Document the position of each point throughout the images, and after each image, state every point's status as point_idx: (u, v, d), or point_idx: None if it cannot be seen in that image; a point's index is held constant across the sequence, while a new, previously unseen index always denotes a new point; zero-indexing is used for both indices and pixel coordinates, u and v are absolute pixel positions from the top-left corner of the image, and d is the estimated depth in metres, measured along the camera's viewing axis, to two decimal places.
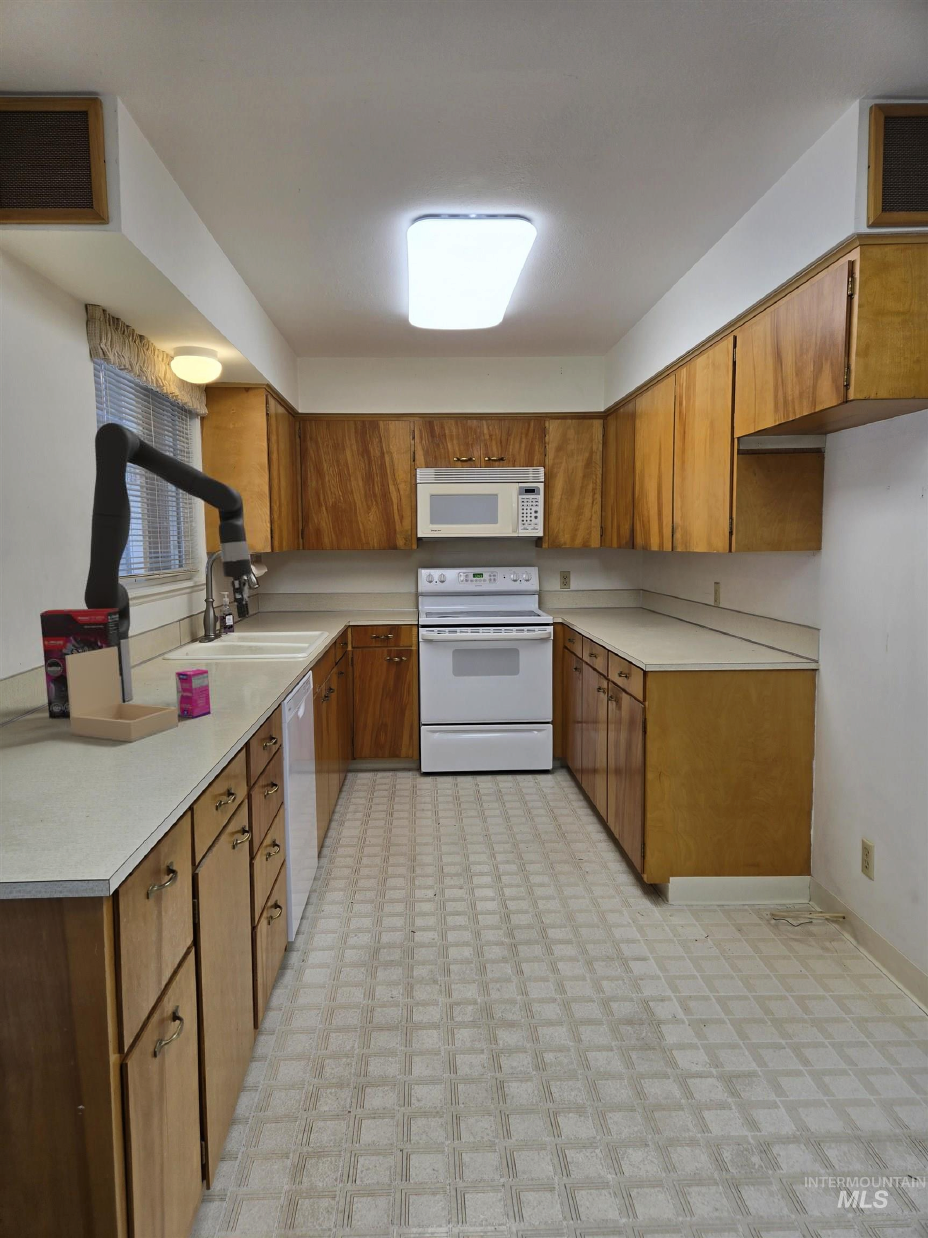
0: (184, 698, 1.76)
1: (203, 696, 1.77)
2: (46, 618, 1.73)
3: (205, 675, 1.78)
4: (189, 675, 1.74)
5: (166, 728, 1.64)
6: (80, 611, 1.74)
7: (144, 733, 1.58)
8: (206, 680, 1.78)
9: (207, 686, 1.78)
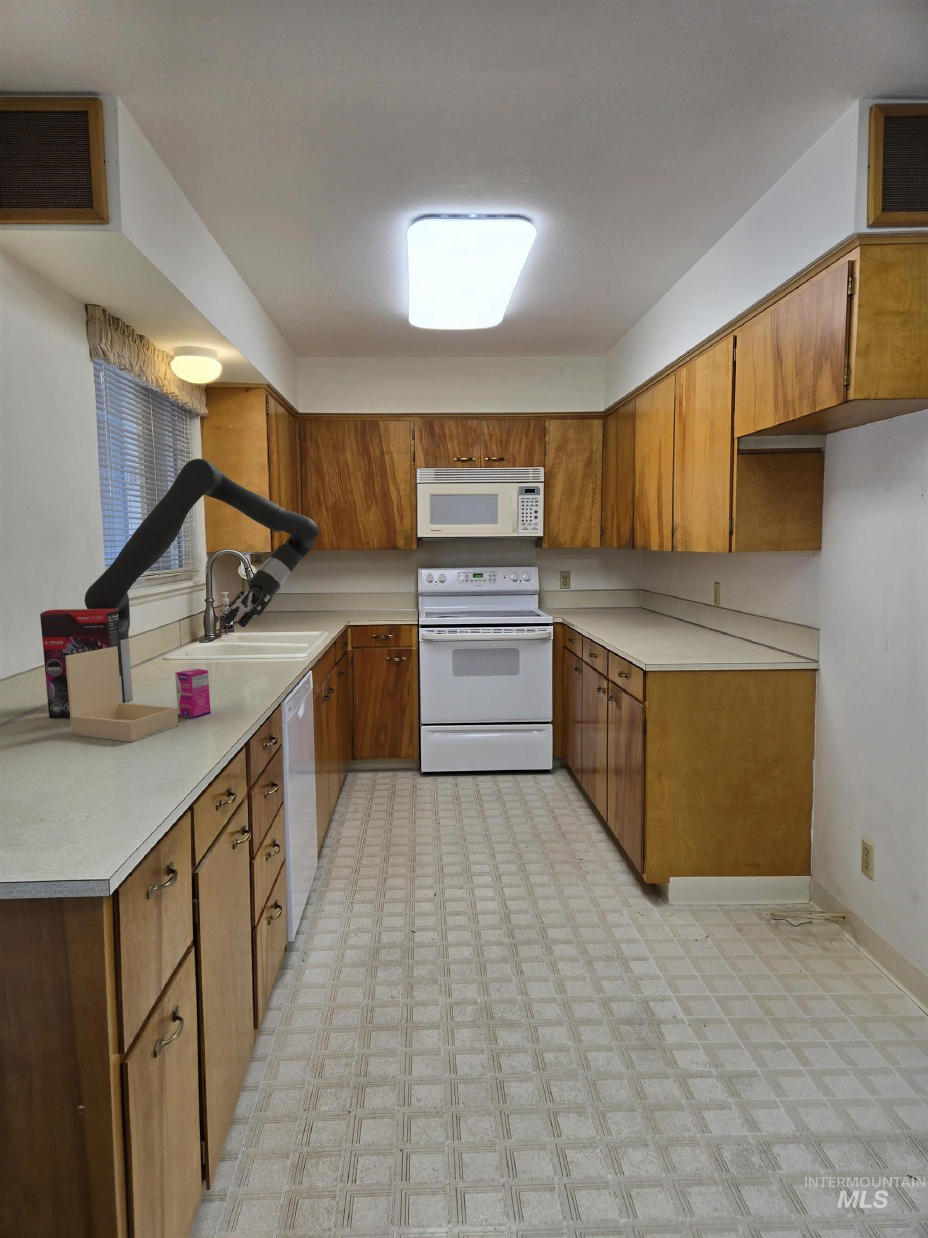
0: (184, 698, 1.76)
1: (203, 696, 1.77)
2: (46, 618, 1.73)
3: (205, 675, 1.78)
4: (189, 675, 1.74)
5: (166, 728, 1.64)
6: (80, 611, 1.74)
7: (144, 733, 1.58)
8: (206, 680, 1.78)
9: (207, 686, 1.78)
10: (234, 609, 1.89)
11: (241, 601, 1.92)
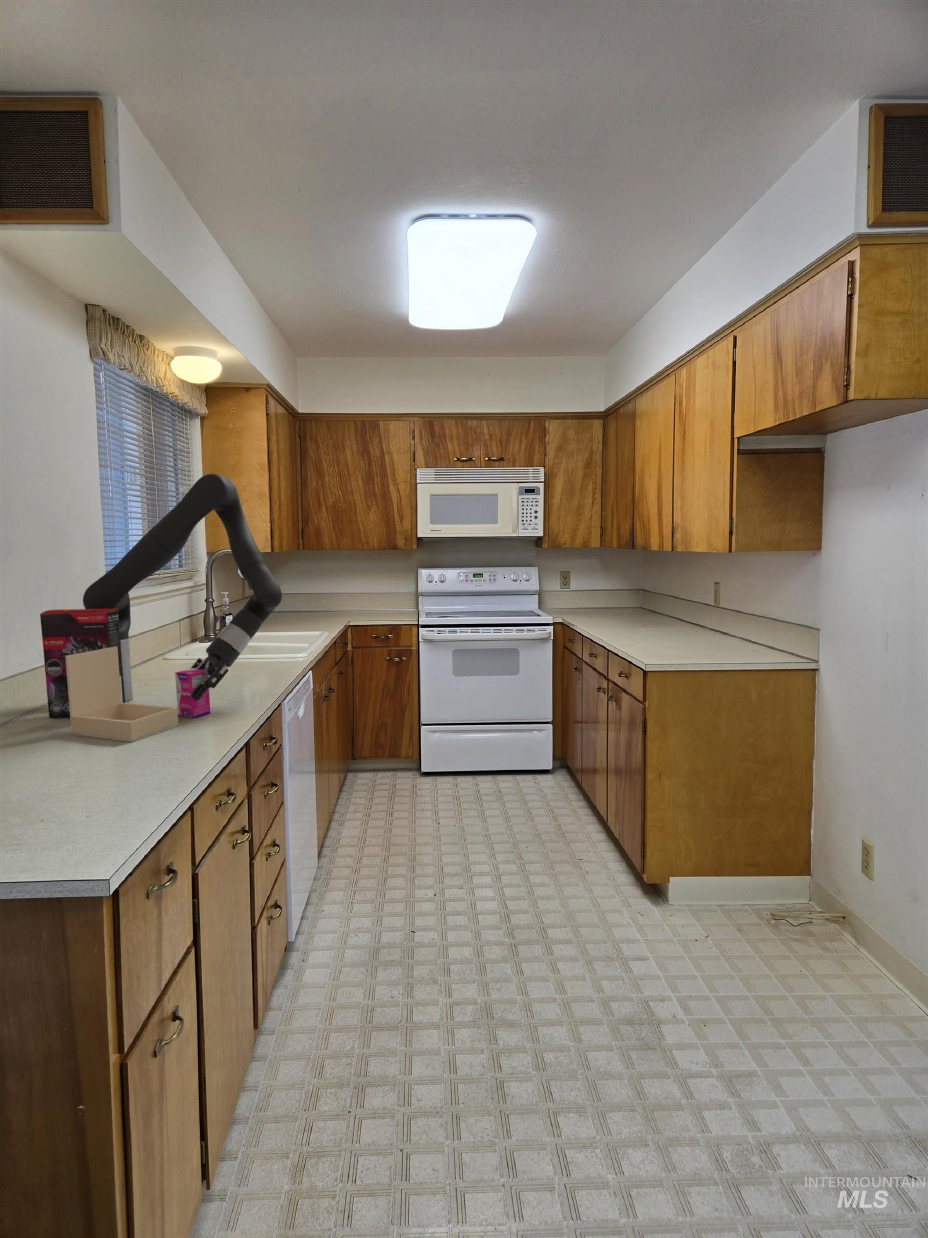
0: (184, 698, 1.76)
1: (203, 696, 1.77)
2: (46, 618, 1.73)
3: None
4: (189, 675, 1.74)
5: (166, 728, 1.64)
6: (80, 611, 1.74)
7: (144, 733, 1.58)
8: None
9: None
10: None
11: None
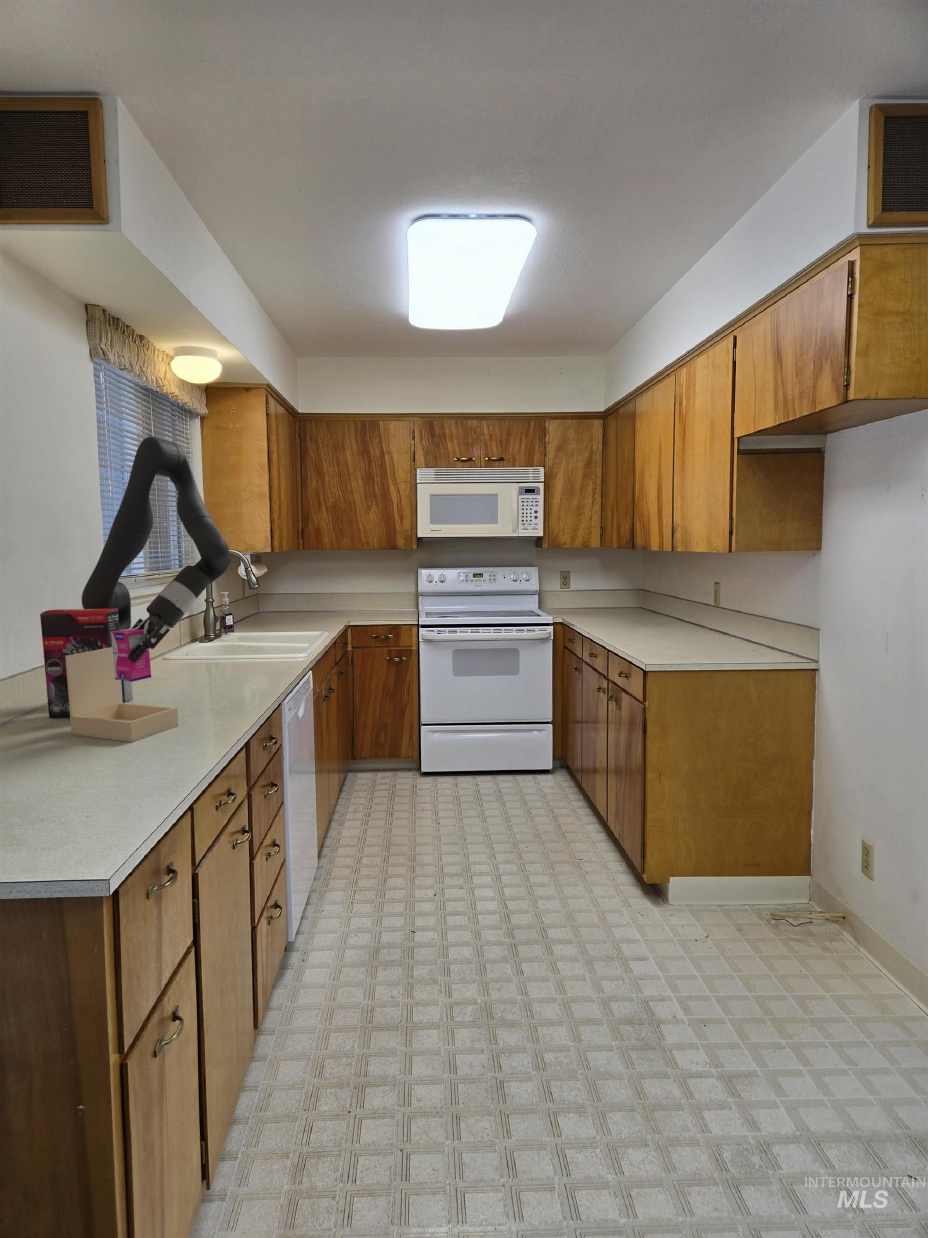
0: (120, 660, 1.61)
1: (142, 658, 1.63)
2: (46, 618, 1.73)
3: None
4: (125, 634, 1.59)
5: (166, 728, 1.64)
6: (80, 611, 1.74)
7: (144, 733, 1.58)
8: None
9: None
10: None
11: None
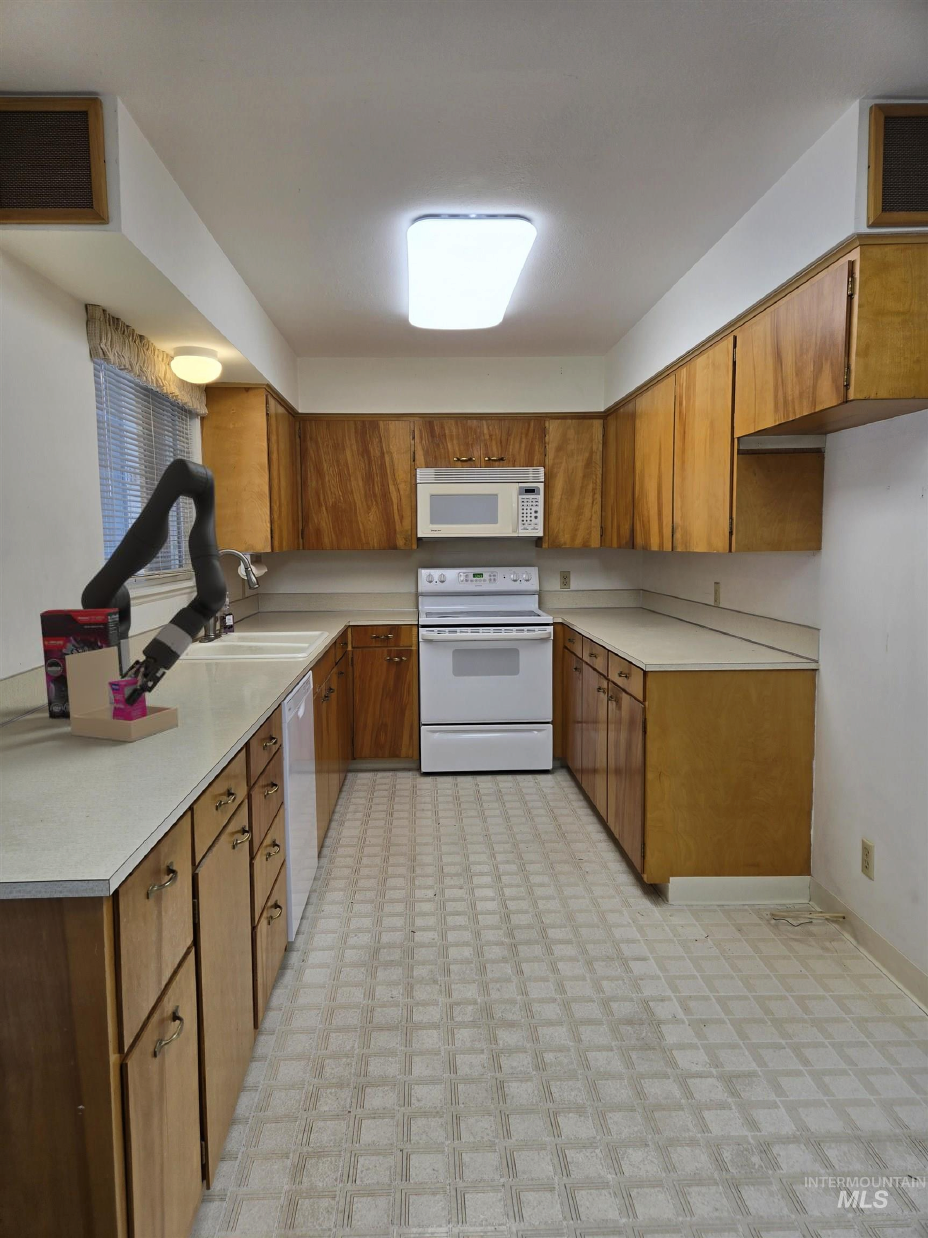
0: (117, 710, 1.61)
1: (138, 708, 1.63)
2: (46, 618, 1.73)
3: None
4: (121, 685, 1.59)
5: (166, 728, 1.64)
6: (80, 611, 1.74)
7: (144, 733, 1.58)
8: None
9: (143, 697, 1.64)
10: None
11: None
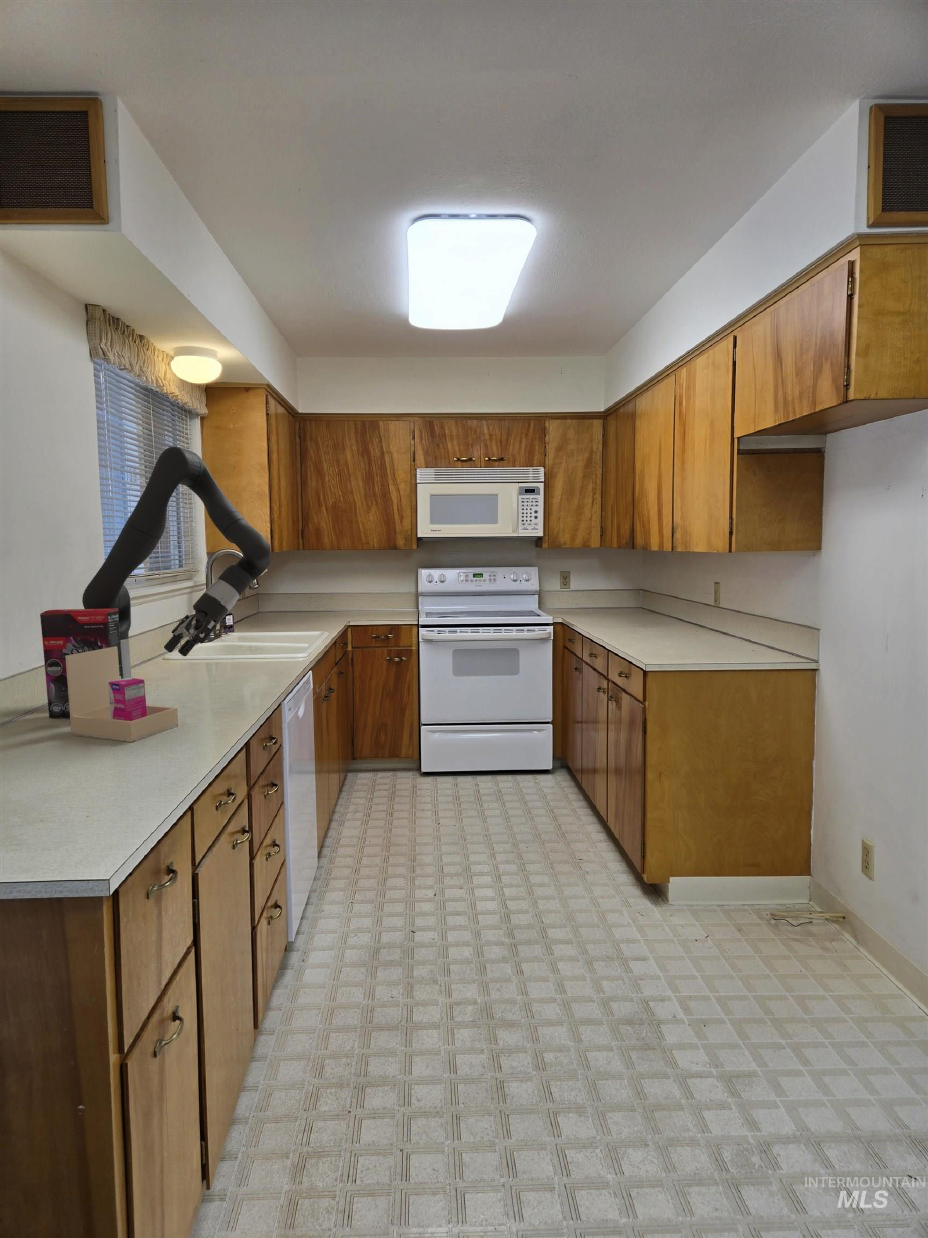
0: (117, 710, 1.61)
1: (139, 708, 1.63)
2: (46, 618, 1.73)
3: (141, 685, 1.63)
4: (122, 685, 1.59)
5: (166, 728, 1.64)
6: (80, 611, 1.74)
7: (144, 733, 1.58)
8: (143, 690, 1.64)
9: (143, 697, 1.64)
10: (177, 635, 1.75)
11: (186, 626, 1.78)
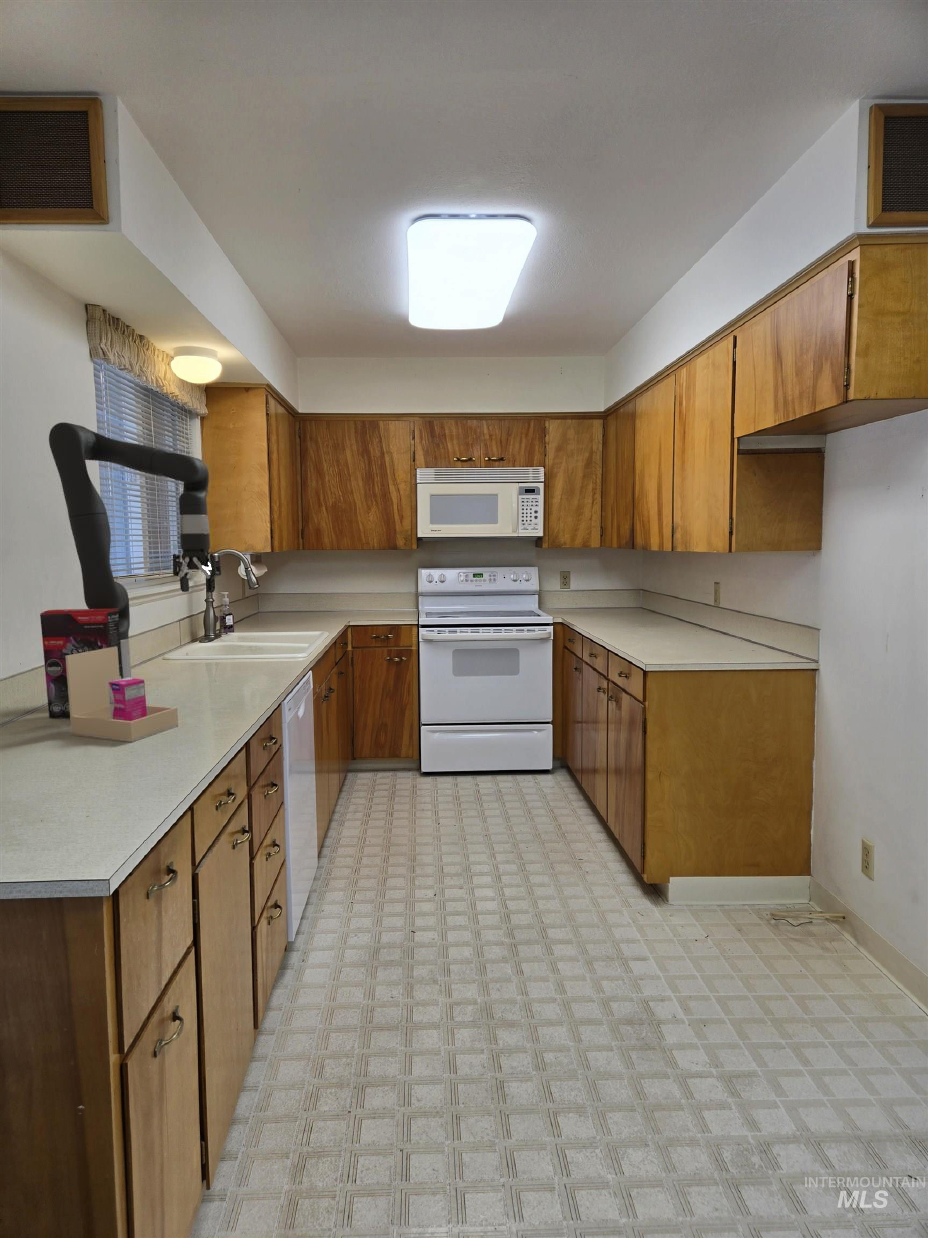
0: (117, 710, 1.61)
1: (138, 708, 1.63)
2: (46, 618, 1.73)
3: (141, 685, 1.63)
4: (122, 685, 1.59)
5: (166, 728, 1.64)
6: (80, 611, 1.74)
7: (144, 733, 1.58)
8: (143, 690, 1.64)
9: (143, 697, 1.64)
10: (183, 576, 1.92)
11: (180, 563, 1.93)
